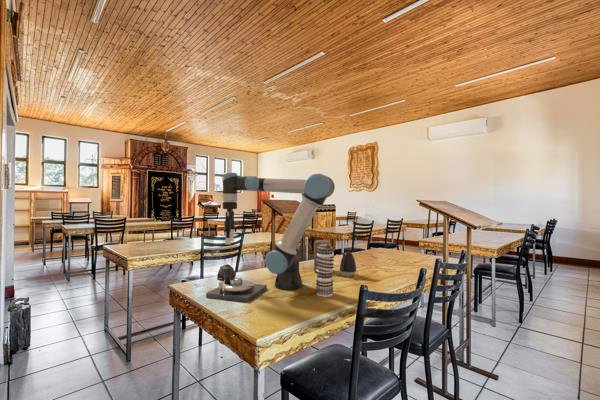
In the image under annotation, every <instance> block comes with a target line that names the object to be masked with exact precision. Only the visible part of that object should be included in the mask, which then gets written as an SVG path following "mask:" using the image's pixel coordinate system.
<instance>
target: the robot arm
mask: <svg viewBox="0 0 600 400" xmlns="http://www.w3.org/2000/svg"><path fill="white" fill-rule="evenodd" d="M335 189H336V188H335V183H334V180H333V179H332V178H331V177H330V176H327V175H325V174H322V173H314V174H312V175H309V176H308V177H307V178H306V179H295V178H270V177H268V178H267V177H266V178H265V177H257V176H253V175H249V176H247V175H246V176H245V175H244V176H239V175H238V173H236V172H224V173H223V175H222V195H221V198H222V209H223V210H226V211H225V220H224V221H225V222H224V224H225V225H224V230H223V232H225V234H224V235H225V236H224V237H225V238H224V241H225V243H224V245H232V242H234V241H235V230H236V227H235V211H234V210H237V209H238V191H240V192H241V191H244V192H245V191H246V192H247V191H248V192H258V193H260V192H263V193H264V192H267V193H268V192H269V193H286V194H289V193H290V194H301V201H300V203H299V205H298V206H297V209H296V210H295V213H294V215H293V217H292V218H291V220H290V222H289V224H288V226H287V228H286V230H285V232H284V233H283V235H282V237H281V239H280V240H278V241H276V242H275V244H274V246H273V248H272V249H271V251H269V252H268V253H267V254H266V256H265V259H264V264H265V267H266V269H267V270H268V271H269V272H271V273H272V274H275V275H276V277H275V279H274V287H275V288H277V289H280V290H297V289H300V288H302V287H303V281H302V276H301V274H300V273H301V272H300V245H299V243H300V241H301V239H302V238H303V235H304V234H305V232H306V230H307V228H308V227H309V225H310V222H312V220H313V217H314V215H315V214H316V212H317V210H318V208H319V207H322V206H324V204H325V201H326V200H327V198H329V197H331V196H332V195H333V193H334V192H335Z"/></svg>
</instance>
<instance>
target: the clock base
mask: <svg viewBox="0 0 600 400" xmlns="http://www.w3.org/2000/svg"><path fill="white" fill-rule="evenodd" d="M223 282H224V281H218V287H216V288H214V289H211V290H210V291H208V292H206V293H205V298H207V299H208V298H209V299H218V300H225V301H233V302H234V301H235V302H241V303H249V302H250V301H251V300H253V299H254V298H256V297H257V296H259V295H260V294H261V293H263V292H264V291H266V290H267V289H268V285H267V284H260V283H254V288H253V289H251V290H248V291H243V292H228V291H224V290H223Z"/></svg>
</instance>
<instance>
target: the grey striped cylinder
mask: <svg viewBox="0 0 600 400" xmlns="http://www.w3.org/2000/svg"><path fill="white" fill-rule="evenodd" d="M319 244H330V245H331V241H330V240H328V239H327V240H326V239H324V240H323V239H316V240H315V241H314V243H313V246H314V247H313V272H314V273H317V271H316V270H317V269H316V266H317V265H316V259H317V258H316V255H317V253H318V251H317V250H318V248H317V247H318V246H319ZM317 264H318V263H317Z"/></svg>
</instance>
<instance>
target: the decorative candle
mask: <svg viewBox="0 0 600 400" xmlns="http://www.w3.org/2000/svg"><path fill="white" fill-rule="evenodd" d="M317 248H318V250H317V251H318V253H317V255H316V258H317V259H316V265H317V266H316V269H317V270H316V271H317V272H316V273H317V274H316V283H315V284H316V286H315V287H316V288H315V289H316V290H315V291H316V294H317V295H316V296H317V297H321V296H322V297H321V298H328V297H329V298H330V297H332V296H333V295H334V287H333V286H334V279H333V278H334V277H333V272H334V270H333V269H335V268H334V266H335V264H334V263H333V262H334V261H335V259H334V258H335V256H334V255H333V248H334V247H333V246H332V245H331V243H330V244H319V246H318V247H317ZM317 263H318V264H317Z"/></svg>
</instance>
